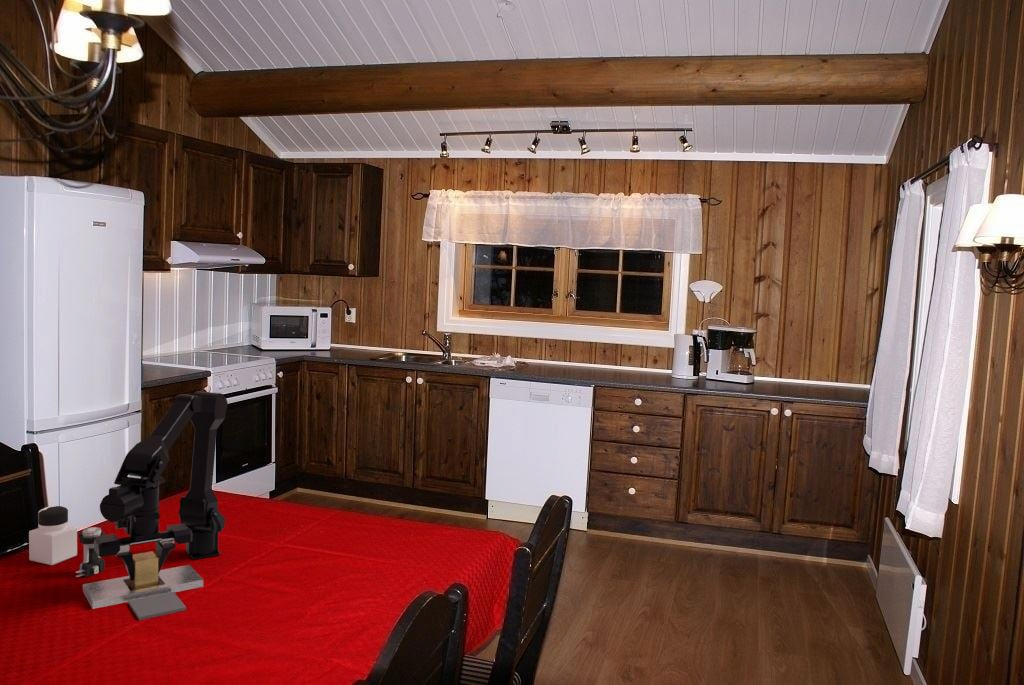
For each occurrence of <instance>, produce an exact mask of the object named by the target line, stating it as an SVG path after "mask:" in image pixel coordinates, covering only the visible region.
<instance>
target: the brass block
mask: <svg viewBox="0 0 1024 685" xmlns="http://www.w3.org/2000/svg"><path fill="white" fill-rule="evenodd" d="M133 569H134V578H133V581H131V580H130V585H129V587H130V588H131V591H134V590H139V589H144V588H149V587H154V586H159V582H158V557H157V556H156V552H154V551H152V550H151V551H147V552H140V553H135V554H133Z"/></svg>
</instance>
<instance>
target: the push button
mask: <svg viewBox="0 0 1024 685" xmlns="http://www.w3.org/2000/svg"><path fill="white" fill-rule="evenodd" d="M104 535H106V532H105V531H103V530H102V529H101V527H97V526H94V527H87V528H84V529H83V530H82V532H80V533H79V534H77V538H78V539H79V543H81V544H82V545H83V561H82V563H80V565H79V570H78V571H75V573H77V575H75V577H76V578H79V577H89V576H93V575H96V574H97V575H98V573H100V572H102V573H103V572H104V571H105V566H106V565H105V562H106V561H105V560H106V559H103V558H102V557H99V556H98V554H97V553H96V551H95V550H94V540H95V539H96V537H97V536H104Z"/></svg>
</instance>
